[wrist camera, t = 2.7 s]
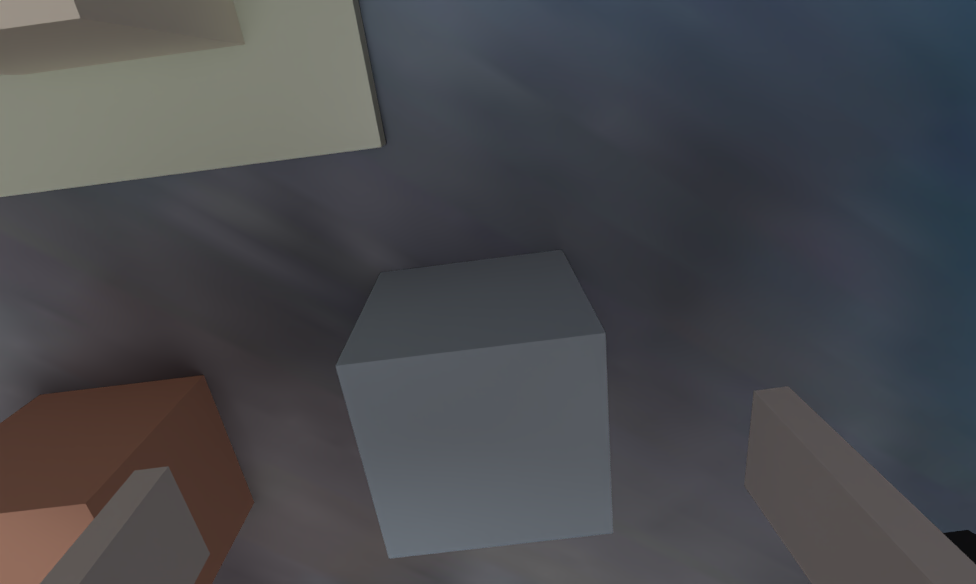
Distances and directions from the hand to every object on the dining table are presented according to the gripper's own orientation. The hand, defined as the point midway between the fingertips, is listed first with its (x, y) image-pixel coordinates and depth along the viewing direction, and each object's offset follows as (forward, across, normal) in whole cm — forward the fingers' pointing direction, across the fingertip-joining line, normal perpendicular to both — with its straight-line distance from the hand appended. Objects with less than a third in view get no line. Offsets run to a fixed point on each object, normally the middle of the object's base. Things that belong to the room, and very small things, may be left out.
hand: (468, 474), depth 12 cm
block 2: (+7, 0, 0) cm, 7 cm away
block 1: (+7, +12, +3) cm, 15 cm away
